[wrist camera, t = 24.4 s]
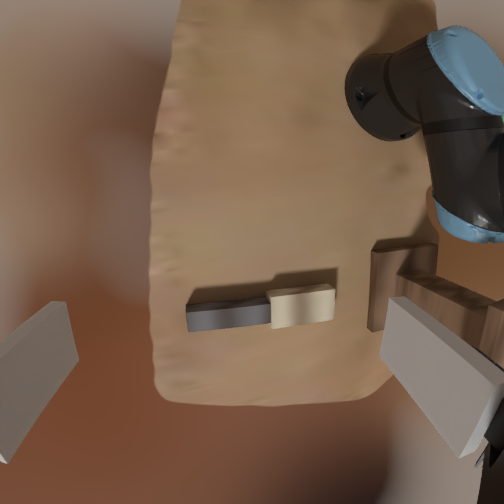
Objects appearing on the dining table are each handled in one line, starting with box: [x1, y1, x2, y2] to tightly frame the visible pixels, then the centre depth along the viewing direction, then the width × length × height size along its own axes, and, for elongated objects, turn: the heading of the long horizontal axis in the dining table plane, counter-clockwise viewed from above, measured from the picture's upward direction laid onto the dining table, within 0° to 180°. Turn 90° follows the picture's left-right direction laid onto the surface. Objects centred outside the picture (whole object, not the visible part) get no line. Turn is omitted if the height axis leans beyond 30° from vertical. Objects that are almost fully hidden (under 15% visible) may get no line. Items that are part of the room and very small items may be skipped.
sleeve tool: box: [186, 283, 335, 332], centre depth 46 cm, size 22×5×3 cm, turn 93°
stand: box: [367, 243, 504, 369], centre depth 38 cm, size 16×14×28 cm
